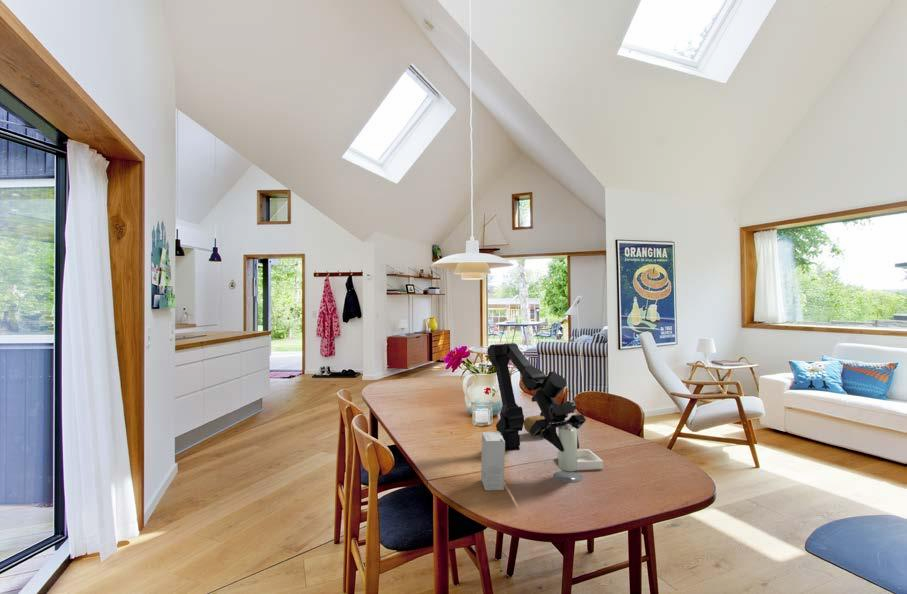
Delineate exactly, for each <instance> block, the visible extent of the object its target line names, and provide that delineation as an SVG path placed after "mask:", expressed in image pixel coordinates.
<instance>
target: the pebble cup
mask: <svg viewBox="0 0 907 594" xmlns="http://www.w3.org/2000/svg"><path fill="white" fill-rule="evenodd" d="M557 432H558V433H557V435H558V437H559V439H560V441H561V443H562V446H563V448H564V451H563V452H561V451H560V450H559V449H558V448H557V450H558V460H557V461H558V469H559V470H561V471H569V472H574V471H578V470H577V450H578V449H577V435H578V429H576V428H574V427H572V426H571V425H569V424H566V425H565V426H562V427H559V428H557Z"/></svg>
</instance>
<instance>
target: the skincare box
mask: <svg viewBox="0 0 907 594" xmlns="http://www.w3.org/2000/svg"><path fill="white" fill-rule="evenodd" d="M505 454H506V450H505V441H504V439H503V436H502V435H501V434H500V432H499V431H493V432H492V431H490V432H489V431H488V432H487V431H483V432H481V460H480V461H481V465H480V466H481V467H480V480H481V482H482V484H483V488H484V491H505V463H506V462H505V460H506V459H505V457H506V455H505Z"/></svg>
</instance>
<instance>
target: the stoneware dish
mask: <svg viewBox="0 0 907 594" xmlns="http://www.w3.org/2000/svg"><path fill="white" fill-rule="evenodd" d="M556 458H557V459H558V449H557V450H556ZM589 470H590V471H592V470H593V471H594V470H604V460H603V459H602V458H600V457H599V456H598V455H596V454H595V453H594V452H593V451H591V450H590V449H587V448H585V449H577V470H576V471H589Z"/></svg>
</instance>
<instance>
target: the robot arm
mask: <svg viewBox="0 0 907 594" xmlns="http://www.w3.org/2000/svg"><path fill="white" fill-rule="evenodd" d="M487 356H488V359H489V362H490V364H492V366H493V367H494V368H495V373H496V377H497V378H496V379H497V384H498V387H499V388H498V389H499V393H500V398H501V402H502V403H501V404H502V405H501V409H500V412H499V416H500V418H499V420H498V421H497V422H496V424H495V427H496V432H500V434H501V435H502V436H503V439H504V441H505V451H510V450H511V451H513V450H520V449H521V448H520V446H521V435H520V433H519V432H522V431H523V428H524V420H525V415H524V412H523V411H524V410H523V407H522V406H520V405H518V404H517V403H516V399H515V394H514V389H513V384H512V379H511V374H510V369H509V364H510V362H511V363H512V364H513V365H514V367H515V368H516V370H517V371H518V372H519V373H520V375H521V383H522V384H523V386H524V388H525V389H526V390H527V391H536V392H534V393H532V397H531V402H533V403H534V402H536V404H537V406H538V407H539V410H540V413H539V415H541V417H542V416H544V418H545V419H542V420H536V421H535V423H534V424H533V425H532V426H531V428H530V433H531V436H532V437H533V438H534V437H540V438H542V439H544V440H546V441H547V442H549V443H550V444H552V445H553V446H554V447H555V448H556V449H557V450H558V449H559V450H560V451H561V452H563V451H564V448H563V446H562V443H561V441H560V439H559V437H558V433H557V429H558V428H559V427H562V426H565V425H566V424H569V425H571V426H572V427H574V428H576V429H577V430H578V429H580V428H581V427H582V426H583V425H584V424H585V423H586V421H587V420H586V418H585V416H584V415H583V414H582V413H577V414H574V413H575V411H576V410H577V408H578V407H577V404H576V402H575V401H574V400H573V399H570V400H567V401H565V403H560V402H557V401H556V400H555V398H557V397H558V396H559V395H560V394H561V393H562V391H563V390H564V389H565V387H567V381H566V378H564V377H563V376H562V375H560V374H558V373H557V372H556V371H554V370H553V371H549V372H548V374H547V375H546V374H545V373H544V372H543V371H542V370H541V369H539V368H537V367H535V366H533V365H532V364H531V362H530V361H529V360H528V358H527V357H526V356H525V355H524V353H523V352H522V351H521V350H520V349H519V346H518V344H517V343H514V342H510V343H509V342H508V343H499V344H498V343H497V344H490V345H489V347H488V348H487ZM568 414H569V415H570V414H572V415H571V416H569V415H568ZM568 417H569V418H568ZM566 418H568V419H566ZM530 433H529V434H530ZM541 433H542V435H541V436H540V434H541ZM579 449H580V442H579V436H578V434H577V450H579Z"/></svg>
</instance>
